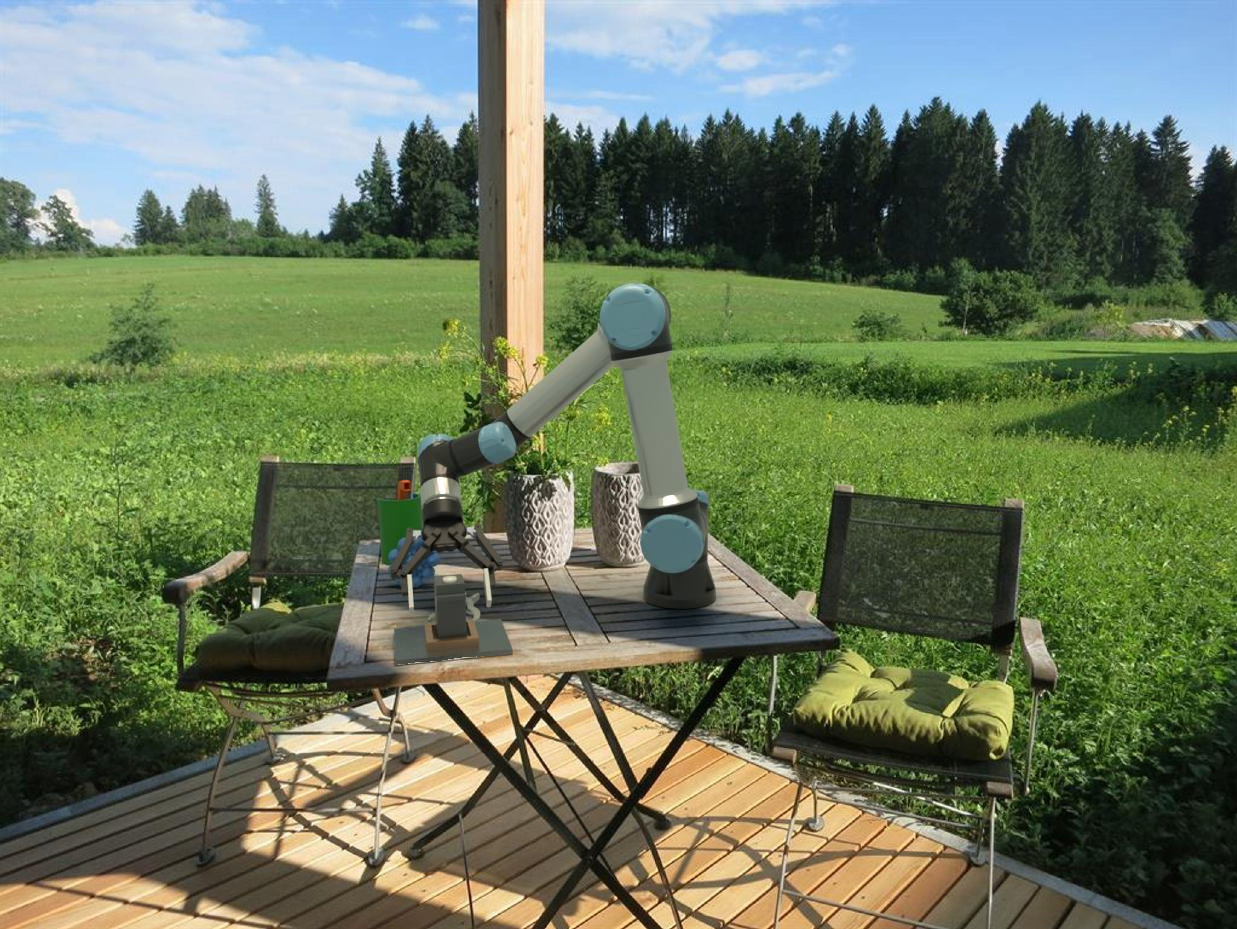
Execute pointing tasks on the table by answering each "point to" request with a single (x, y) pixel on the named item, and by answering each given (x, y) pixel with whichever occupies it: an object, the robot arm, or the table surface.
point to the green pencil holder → (398, 519)
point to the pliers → (470, 607)
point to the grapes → (424, 568)
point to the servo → (450, 606)
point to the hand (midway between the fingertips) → (450, 607)
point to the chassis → (451, 642)
